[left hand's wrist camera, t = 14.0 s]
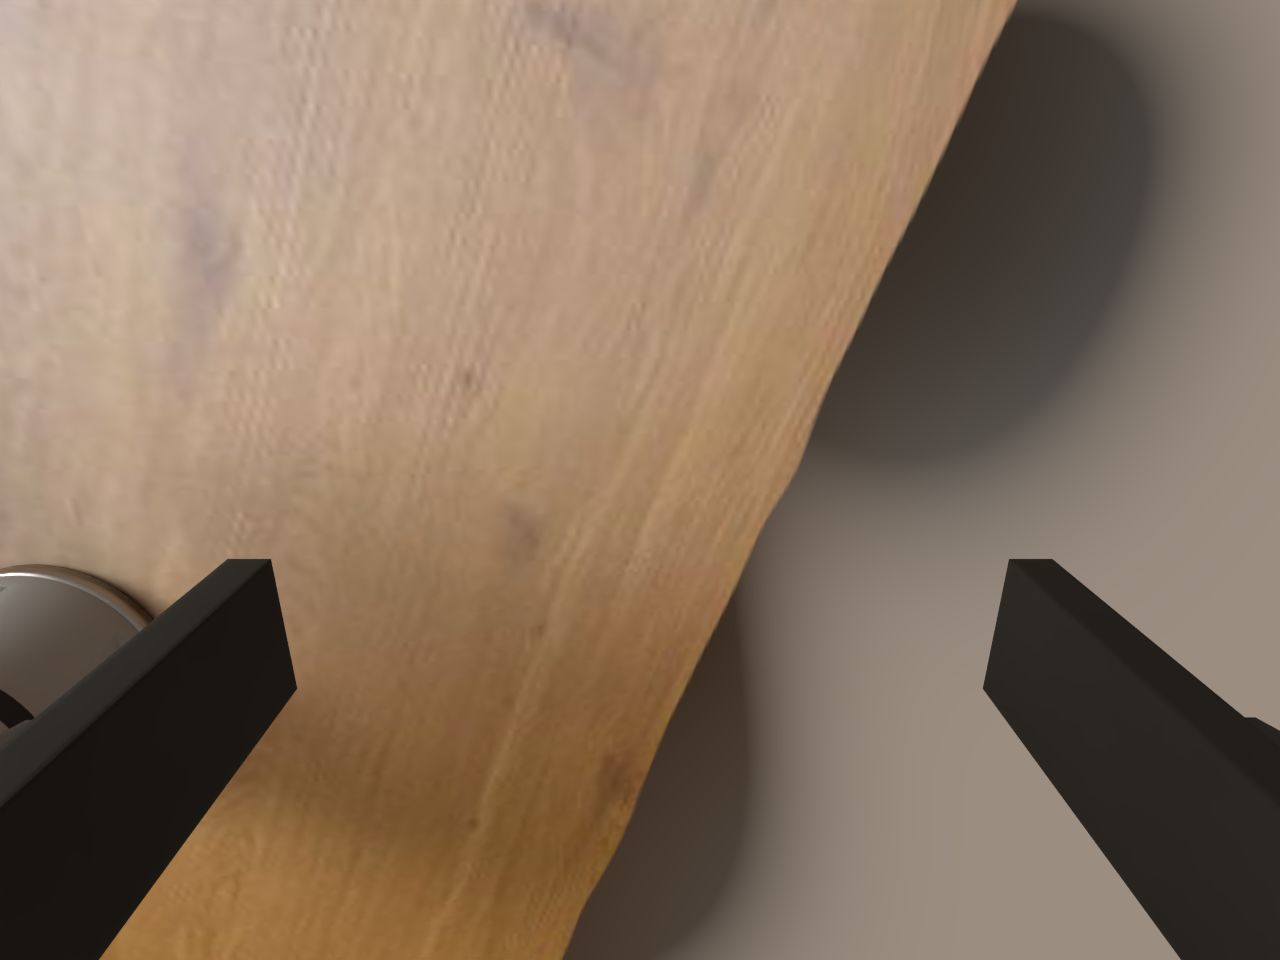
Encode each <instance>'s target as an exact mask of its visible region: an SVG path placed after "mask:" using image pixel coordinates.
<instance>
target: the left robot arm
mask: <svg viewBox="0 0 1280 960" xmlns="http://www.w3.org/2000/svg"><path fill="white" fill-rule="evenodd" d="M296 689H297V686H296V681H295V676H294V671H293V666H292V661H291V656H290V651H289V646H288V641H287V636H286V631H285V627H284V622H283V617H282V612H281V607H280V602H279V597H278V592H277V587H276V582H275V577H274V572H273V567H272V562H271V559H227V560H226V561H225V562H224V563H222V564H221V565H220V566H219V567H218V568H216V569H215V570H214V571H213V572H211V573H210V574H209V575H208V576H207V577H205V578H204V579H203V580H202V581H201V582H199V583H198V584H197V585H196V586H194V587H193V588H192V589H191V590H190V591H188V592H187V593H186V594H185V595H184V596H182V597H181V598H180V599H179V600H177V601H176V602H175V603H174V604H173V605H171V606H170V607H169V608H168V609H167V610H165V611H164V612H163V613H162V614H160V615H159V616H158V617H157V618H156V619H154V620H153V619H152V618H151V617H150V616H149V615H148V614H147V613H146V612H145V611H144V610H143V609H142V608H141V607H140V606H139V605H138V604H136V603H135V602H134V601H133V600H131V599H130V598H129V597H127V596H126V595H125V594H123V593H122V592H120V591H119V590H117V589H115V588H114V587H112V586H110V585H108V584H107V583H105V582H102V581H100V580H98V579H96V578H94V577H91V576H89V575H86V574H84V573H81V572H77V571H74V570H70V569H66V568H62V567H56V566H50V565H19V566H12V567H7V568H3V569H0V960H99V959H100V957H101V956H102V955H103V953H104V952H105V951H106V949H107V948H108V946H109V945H110V944H111V942H112V941H113V940H114V938H115V937H116V936H117V934H118V933H119V931H120V930H121V929H122V927H123V926H124V925H125V923H126V922H127V920H128V919H129V918H130V916H131V915H132V914H133V912H134V911H135V910H136V908H137V907H138V905H139V904H140V903H141V901H142V900H143V899H144V897H145V896H146V894H147V893H148V892H149V890H150V889H151V888H152V886H153V885H154V884H155V882H156V881H157V879H158V878H159V877H160V875H161V874H162V873H163V871H164V870H165V869H166V867H167V866H168V864H169V863H170V862H171V860H172V859H173V858H174V856H175V855H176V853H177V852H178V851H179V849H180V848H181V847H182V845H183V844H184V843H185V841H186V840H187V838H188V837H189V836H190V834H191V833H192V832H193V830H194V829H195V827H196V826H197V825H198V823H199V822H200V821H201V819H202V818H203V817H204V815H205V814H206V812H207V811H208V810H209V808H210V807H211V806H212V804H213V803H214V802H215V800H216V799H217V797H218V796H219V795H220V793H221V792H222V791H223V789H224V788H225V786H226V785H227V784H228V782H229V781H230V780H231V778H232V777H233V776H234V774H235V773H236V771H237V770H238V769H239V767H240V766H241V765H242V763H243V762H244V761H245V759H246V758H247V756H248V755H249V754H250V752H251V751H252V750H253V748H254V747H255V745H256V744H257V743H258V741H259V740H260V739H261V737H262V736H263V735H264V733H265V732H266V730H267V729H268V728H269V726H270V725H271V724H272V722H273V721H274V719H275V718H276V717H277V715H278V714H279V713H280V711H281V710H282V709H283V707H284V706H285V704H286V703H287V702H288V700H289V699H290V698H291V696H292V695H293V694H294V692H295V691H296ZM983 689H984V691H985V692H986V694H987V695H988V696H989V698H990V699H991V700H992V702H993V703H994V704H995V706H996V707H997V709H998V710H999V711H1000V713H1001V714H1002V715H1003V717H1004V718H1005V719H1006V721H1007V722H1008V724H1009V725H1010V726H1011V728H1012V729H1013V730H1014V732H1015V733H1016V735H1017V736H1018V737H1019V739H1020V740H1021V741H1022V743H1023V744H1024V745H1025V747H1026V748H1027V750H1028V751H1029V752H1030V754H1031V755H1032V756H1033V758H1034V759H1035V761H1036V762H1037V763H1038V765H1039V766H1040V767H1041V769H1042V770H1043V771H1044V773H1045V774H1046V776H1047V777H1048V778H1049V780H1050V781H1051V782H1052V784H1053V785H1054V786H1055V788H1056V789H1057V790H1058V792H1059V793H1060V795H1061V796H1062V797H1063V799H1064V800H1065V802H1066V803H1067V804H1068V806H1069V807H1070V808H1071V810H1072V811H1073V812H1074V814H1075V815H1076V817H1077V818H1078V819H1079V821H1080V822H1081V823H1082V825H1083V826H1084V827H1085V829H1086V830H1087V831H1088V833H1089V834H1090V836H1091V837H1092V838H1093V840H1094V841H1095V843H1096V844H1097V845H1098V847H1099V848H1100V849H1101V851H1102V852H1103V853H1104V855H1105V856H1106V858H1107V859H1108V860H1109V862H1110V863H1111V864H1112V866H1113V867H1114V868H1115V870H1116V871H1117V873H1118V874H1119V875H1120V877H1121V878H1122V879H1123V881H1124V882H1125V884H1126V885H1127V886H1128V888H1129V889H1130V890H1131V892H1132V893H1133V894H1134V896H1135V897H1136V899H1137V900H1138V901H1139V903H1140V904H1141V905H1142V907H1143V908H1144V910H1145V911H1146V912H1147V914H1148V915H1149V916H1150V918H1151V919H1152V920H1153V922H1154V923H1155V924H1156V926H1157V927H1158V929H1159V930H1160V931H1161V933H1162V934H1163V936H1164V937H1165V938H1166V940H1167V941H1168V942H1169V944H1170V945H1171V946H1172V948H1173V949H1174V951H1175V952H1176V953H1177V955H1178V956H1179V957H1180V959H1181V960H1280V731H1279V730H1277V729H1276V728H1274V727H1272V726H1270V725H1268V724H1266V723H1264V722H1263V721H1261V720H1259V719H1257V718H1245V717H1243V716H1242V715H1241V714H1240V713H1239V712H1237V711H1236V710H1235V709H1234V708H1233V707H1231V706H1230V705H1229V704H1228V703H1226V702H1225V701H1224V700H1223V699H1221V698H1220V697H1219V696H1218V695H1217V694H1215V693H1214V692H1213V691H1212V690H1211V689H1209V688H1208V687H1207V686H1206V685H1205V684H1203V683H1202V682H1201V681H1200V680H1198V679H1197V678H1196V677H1195V676H1194V675H1192V674H1191V673H1190V672H1189V671H1188V670H1186V669H1185V668H1184V667H1183V666H1181V665H1180V664H1179V663H1178V662H1177V661H1175V660H1174V659H1173V658H1172V657H1170V656H1169V655H1168V654H1167V653H1166V652H1164V651H1163V650H1162V649H1161V648H1160V647H1158V646H1157V645H1156V644H1155V643H1153V642H1152V641H1151V640H1150V639H1149V638H1147V637H1146V636H1145V635H1144V634H1143V633H1141V632H1140V631H1139V630H1138V629H1137V628H1135V627H1134V626H1133V625H1132V624H1130V623H1129V622H1128V621H1127V620H1126V619H1124V618H1123V617H1122V616H1121V615H1120V614H1118V613H1117V612H1116V611H1115V610H1113V609H1112V608H1111V607H1110V606H1109V605H1107V604H1106V603H1105V602H1104V601H1102V600H1101V599H1100V598H1099V597H1098V596H1096V595H1095V594H1094V593H1093V592H1092V591H1090V590H1089V589H1088V588H1087V587H1086V586H1084V585H1083V584H1082V583H1081V582H1079V581H1078V580H1077V579H1076V578H1075V577H1073V576H1072V575H1071V574H1070V573H1068V572H1067V571H1066V570H1065V569H1064V568H1062V567H1061V566H1060V565H1059V564H1058V563H1056V562H1055V561H1054V560H1053V559H1009V562H1008V568H1007V572H1006V577H1005V582H1004V587H1003V592H1002V597H1001V602H1000V607H999V612H998V617H997V622H996V627H995V631H994V636H993V641H992V646H991V651H990V656H989V661H988V666H987V671H986V676H985V681H984V686H983Z"/></svg>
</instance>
